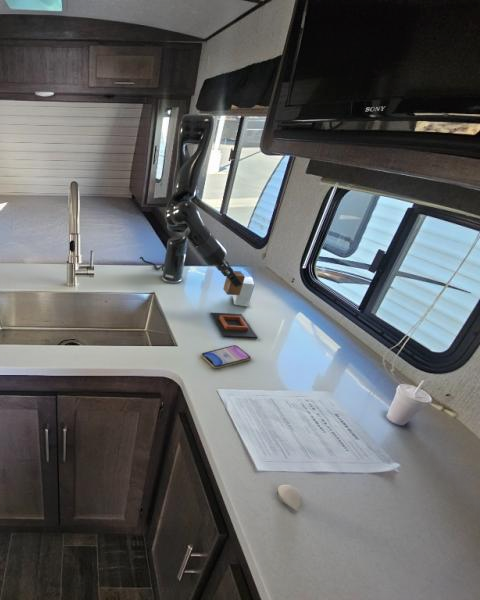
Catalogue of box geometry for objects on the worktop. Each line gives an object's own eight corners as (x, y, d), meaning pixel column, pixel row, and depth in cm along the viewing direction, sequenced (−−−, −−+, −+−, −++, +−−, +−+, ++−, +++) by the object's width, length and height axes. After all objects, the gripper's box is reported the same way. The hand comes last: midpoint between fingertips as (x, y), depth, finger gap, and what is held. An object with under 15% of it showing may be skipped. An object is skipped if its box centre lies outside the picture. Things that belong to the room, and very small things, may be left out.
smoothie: (378, 419, 84) (405, 379, 78) (381, 406, 88) (407, 367, 82) (411, 434, 80) (442, 393, 74) (412, 419, 84) (442, 379, 78)
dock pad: (210, 314, 130) (211, 309, 129) (240, 315, 129) (242, 311, 128) (223, 337, 116) (224, 332, 115) (257, 339, 115) (258, 334, 114)
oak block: (223, 289, 119) (228, 270, 115) (235, 289, 119) (240, 271, 115) (227, 294, 115) (232, 275, 111) (239, 295, 115) (245, 276, 111)
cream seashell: (293, 489, 68) (297, 482, 66) (306, 515, 63) (311, 507, 62) (272, 488, 68) (276, 481, 67) (284, 513, 63) (288, 506, 62)
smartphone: (252, 359, 105) (253, 357, 104) (214, 370, 100) (215, 367, 100) (235, 346, 111) (235, 344, 110) (199, 355, 106) (199, 353, 106)
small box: (248, 307, 135) (255, 284, 130) (233, 304, 137) (240, 282, 132) (246, 298, 142) (252, 277, 137) (232, 296, 144) (238, 275, 138)
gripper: (225, 249, 102) (253, 284, 107) (212, 235, 114) (238, 267, 120) (205, 263, 105) (233, 297, 110) (194, 248, 117) (220, 280, 123)
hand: (236, 282), depth 115 cm, fingers closed on oak block, 4 cm apart
